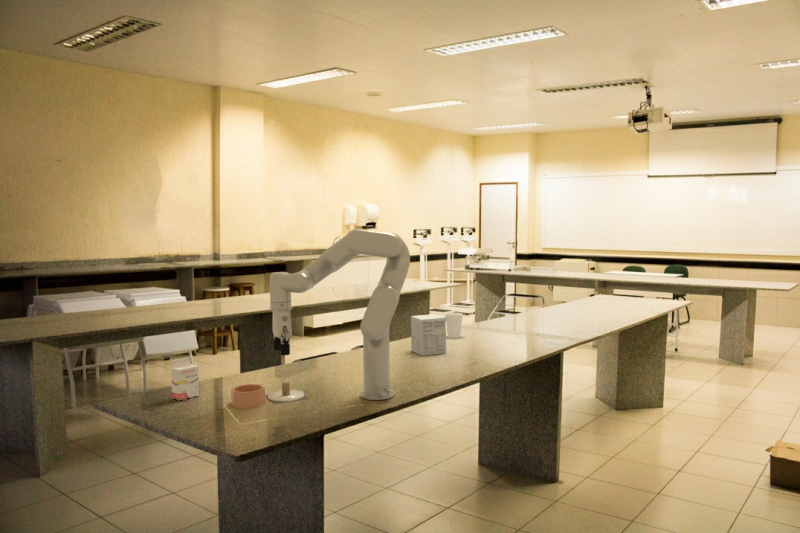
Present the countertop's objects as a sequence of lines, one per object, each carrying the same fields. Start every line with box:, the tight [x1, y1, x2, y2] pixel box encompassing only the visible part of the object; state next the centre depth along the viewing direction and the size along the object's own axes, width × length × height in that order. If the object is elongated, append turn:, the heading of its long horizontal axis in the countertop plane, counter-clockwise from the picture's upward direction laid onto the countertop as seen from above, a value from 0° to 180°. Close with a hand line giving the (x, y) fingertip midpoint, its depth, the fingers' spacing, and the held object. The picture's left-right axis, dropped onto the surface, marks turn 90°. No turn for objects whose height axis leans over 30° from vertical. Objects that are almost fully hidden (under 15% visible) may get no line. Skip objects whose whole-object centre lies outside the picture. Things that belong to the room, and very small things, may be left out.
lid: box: [267, 381, 305, 403], centre depth 226 cm, size 13×13×5 cm
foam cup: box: [444, 312, 463, 340], centre depth 339 cm, size 10×9×13 cm
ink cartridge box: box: [170, 356, 200, 399], centre depth 229 cm, size 9×5×15 cm, turn 141°
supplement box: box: [410, 313, 447, 356], centre depth 301 cm, size 13×13×18 cm
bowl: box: [230, 383, 266, 409], centre depth 219 cm, size 11×11×6 cm
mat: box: [265, 394, 310, 405], centre depth 226 cm, size 13×13×1 cm
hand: (281, 352), depth 227 cm, fingers open, 9 cm apart
